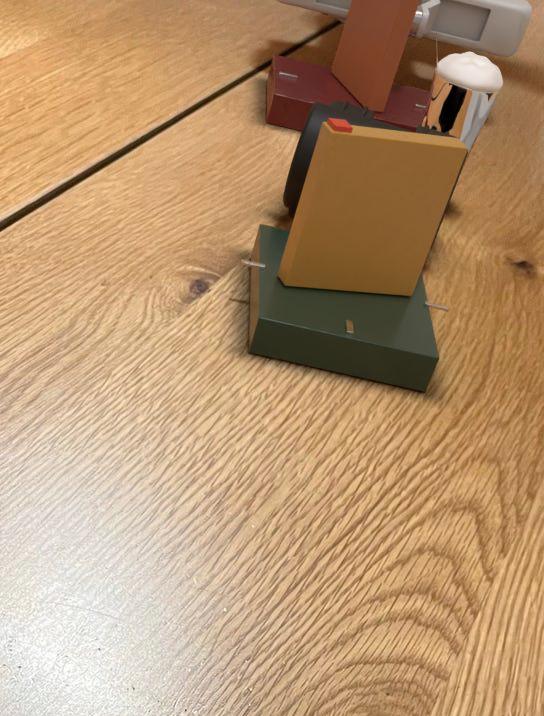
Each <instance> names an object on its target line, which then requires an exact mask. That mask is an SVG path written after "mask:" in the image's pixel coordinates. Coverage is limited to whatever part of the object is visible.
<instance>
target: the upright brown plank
mask: <svg viewBox="0 0 544 716" xmlns="http://www.w3.org/2000/svg"><path fill="white" fill-rule="evenodd" d="M419 1H420V0H352V2H351V5H350V8H349V12H348V15H347V19H346V22H345V24H344V26H343V29H342V32H341V36H340V39H339V43H338V46H337V50H336V53H335V56H334V60H333V63H332V67H331V68H332V70H331V73H332V74H333V75H334V76H335V77H336V78H337V79H338V80H339V81H340V82H341V83H342V84H343V85H344V86H345V87H346V89H347V90H348V91H349V92H350V93H351V94H352V95H353V96H354V97H355V98H356V99H357V100H358V101H359V102H360V104H361V105H362V106H363V107H364V108H365V106H367V107H368V110H371V111H376V112H383V111H384V108H385V105H386V102H387V99H388V96H389V93H390V90H391V87H392V84H393V83H394V81H395V77H396V74H397V71H398V68H399V65H400V62H401V59H402V56H403V53H404V50H405V47H406V44H407V41H408V39H409V38H408V35H409V32H410V29H411V26H412V23H413V20H414V17H415V14H416V11H417V8H418V5H419ZM407 38H408V39H407Z"/></svg>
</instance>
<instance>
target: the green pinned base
mask: <svg viewBox="0 0 544 716" xmlns="http://www.w3.org/2000/svg"><path fill="white" fill-rule="evenodd" d="M289 234H290V230H289V229H285V228H280V227H276V226H271V225H267V224H263V223H260V224H259V225H258V229H257V233H256V236H255V240H254V244H253V247H252V250H251V254H250V260H248V259H243V258H241V259H240V265H242V266H247V267H250V278H249V279H250V281H249V320H248V321H249V322H248V323H249V327H248V328H249V330H248V332H249V333H248V337H249V338H248V353H249V354H254V355H259V356H263V357H267V358H272V359H276V360H280V361H286V362H289V363H295V364H298V365H303V366H308V367H312V368H317V369H320V370H325V371H330V372H335V373H339V374H344V375H347V376H352V377H356V378H359V379H365V380H370V381H374V382H379V383H383V384H387V385H392V386H397V387H400V388H405V389H409V390H415V391H417V392H422V393H426V391H427V390H428V388H429V385H430V382H431V380H432V377H433V375H434V373H435V371H436V368H437V366H438V363H439V361H440V354H439V350H438V343H437V339H436V335H435V330H434V326H433V321H432V316H431V309H436V310H439V311H444V312H449V311H450V307H449V306H448V305H444V304H440V303H435V302H431V301H428V295H427V291H426V285H425V281H424V275H423V270H422V271H421V273H420V276H419V279H418V281H417V284H416V287H415V289H414V292H413V294H412V296H402V295H390V294H378V293H366V292H354V291H341V290H329V289H317V288H305V287H293V286H285V285H284V284H283V282H282V281H281V279H280V278H279V276H278V271H279V267H280V264H281V260H282V257H283V254H284V250H285V247H286V244H287V240H288V237H289ZM430 308H431V309H430Z"/></svg>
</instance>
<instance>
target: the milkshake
mask: <svg viewBox="0 0 544 716" xmlns="http://www.w3.org/2000/svg"><path fill="white" fill-rule="evenodd" d="M435 64H436V65H435V69H434V72H433V76H432V80H431V85H430V88H429V91H430V92H429V96H428V100H427V103H426V107H425V111H424V115H423V119H422V122H421V126H423V127H426V125H429V126H430V129H433V130H436V131H439V132H443V133H445V132H446V131H448V132H449V135H452V136H455V137H457V138H458V139H459V140H460V141H461V142H462V143H463V144H464V145H465V146H466V147H467V148H468V155H467V157H466V160H465V163H464V166H463V168H462V171H461V173H462V172H463V170H464V168H465V165H466V163H467V161H468V159H469V157H470V154H471V152H472V150H473V148H474V145H475V143H476V141H477V139H478V137H479V135H480V133H481V131H482V129H483V127H484V125H485V123H486V122H487V119H488V117H489V115H490V113H491V111H492V109H493V107H494V105H495V102H496V100H497V98H498V97H499V94H500V92H501V90H502V88H503V86H504V80H503V75H502V73H501V70H500V68H499V66H497V64H495V63H493V62H492V61H491V60H490V59H489V58H488V57H486V56H484V55H478V54H476V53H475V52H473V51H465V52H462V53H451V54H448V55H446V56H445V57H443V58H441V59H440V60H438V41H437V31H436V40H435Z"/></svg>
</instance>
